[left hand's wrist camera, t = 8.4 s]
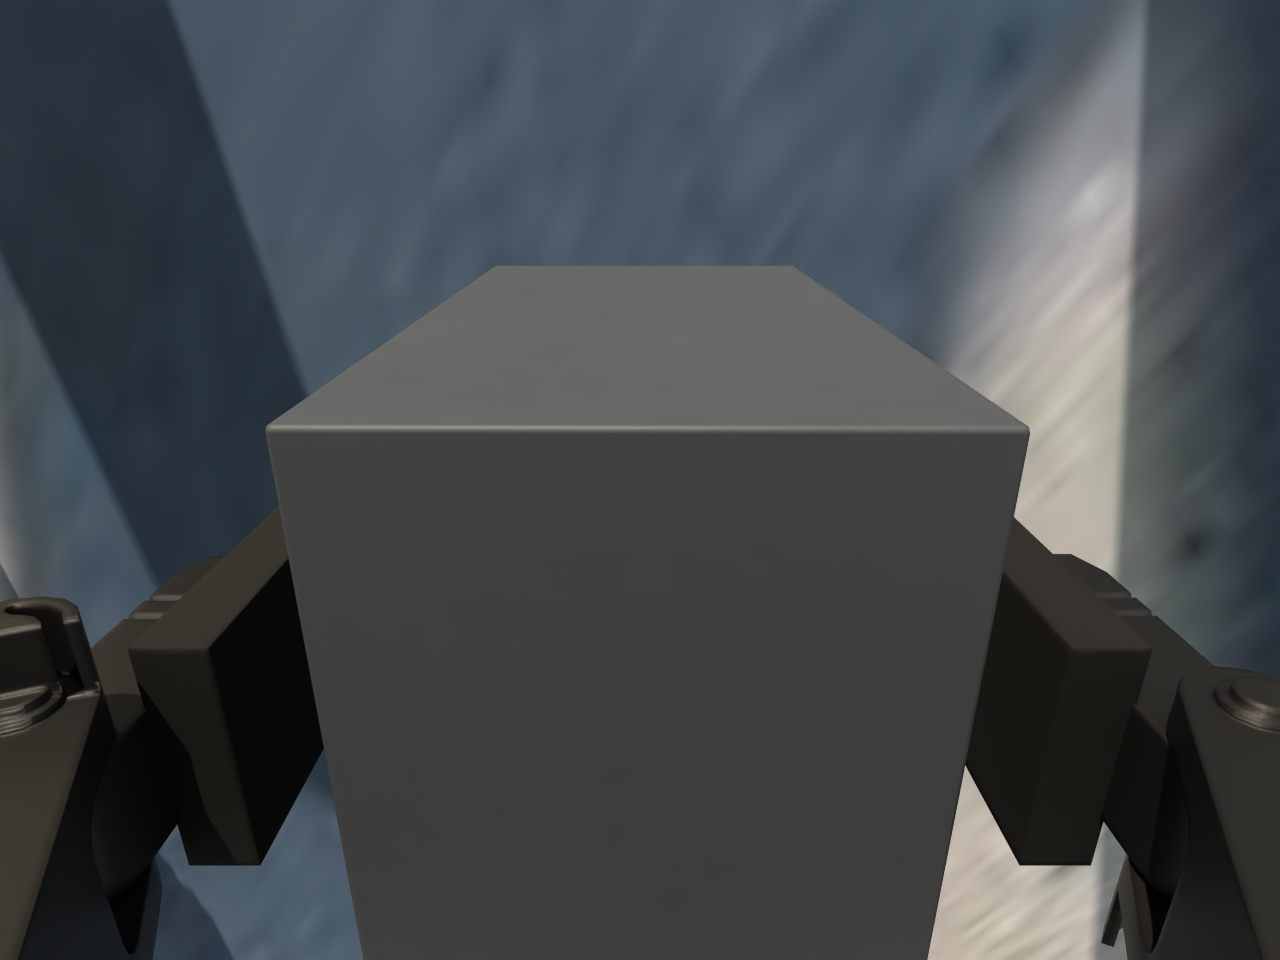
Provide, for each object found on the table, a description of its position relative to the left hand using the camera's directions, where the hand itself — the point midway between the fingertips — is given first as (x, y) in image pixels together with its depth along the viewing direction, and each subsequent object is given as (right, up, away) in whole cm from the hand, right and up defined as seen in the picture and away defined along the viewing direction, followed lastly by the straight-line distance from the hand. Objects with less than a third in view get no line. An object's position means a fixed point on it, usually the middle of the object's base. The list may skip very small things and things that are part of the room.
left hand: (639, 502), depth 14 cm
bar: (0, -6, +4) cm, 7 cm away
